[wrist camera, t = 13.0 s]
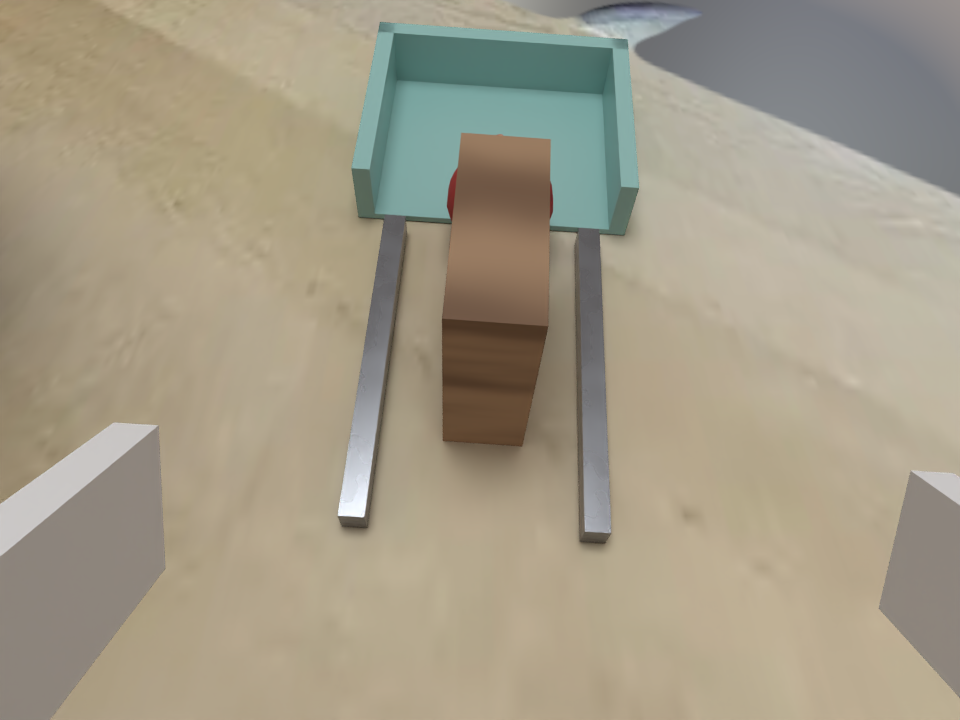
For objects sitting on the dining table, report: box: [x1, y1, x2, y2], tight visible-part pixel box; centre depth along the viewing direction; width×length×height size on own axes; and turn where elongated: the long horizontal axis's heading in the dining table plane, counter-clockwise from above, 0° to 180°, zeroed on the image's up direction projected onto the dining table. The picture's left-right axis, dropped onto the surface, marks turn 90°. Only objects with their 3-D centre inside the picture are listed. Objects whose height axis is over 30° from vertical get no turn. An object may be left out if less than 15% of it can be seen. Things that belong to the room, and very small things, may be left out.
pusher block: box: [442, 133, 551, 446], centre depth 35 cm, size 10×4×11 cm, turn 177°
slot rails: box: [338, 214, 611, 543], centre depth 39 cm, size 18×12×2 cm
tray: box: [352, 22, 639, 235], centre depth 46 cm, size 13×16×4 cm
